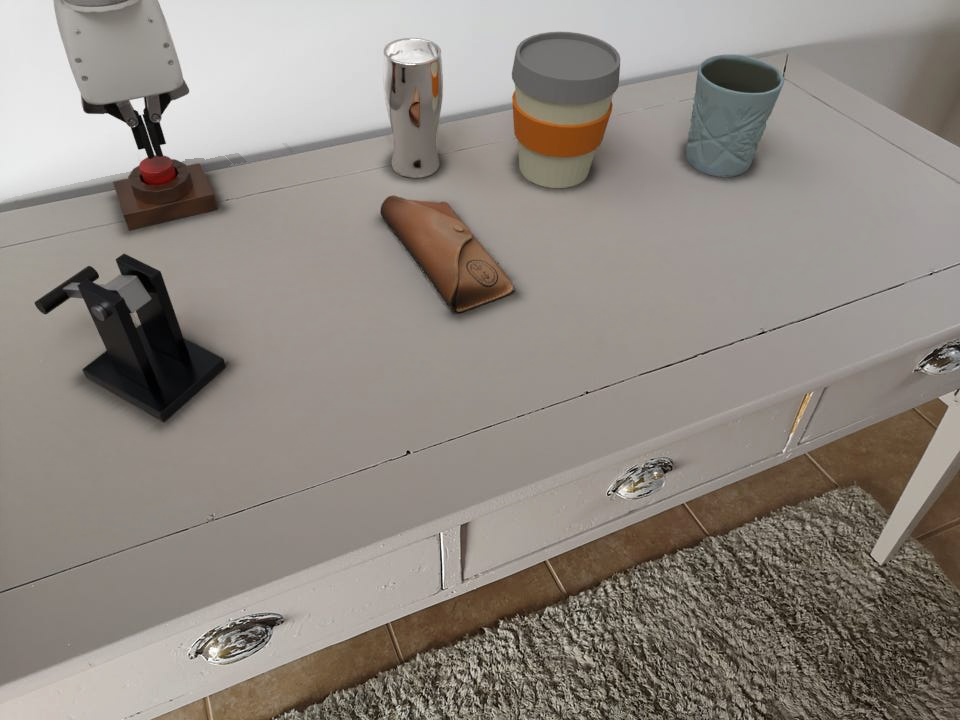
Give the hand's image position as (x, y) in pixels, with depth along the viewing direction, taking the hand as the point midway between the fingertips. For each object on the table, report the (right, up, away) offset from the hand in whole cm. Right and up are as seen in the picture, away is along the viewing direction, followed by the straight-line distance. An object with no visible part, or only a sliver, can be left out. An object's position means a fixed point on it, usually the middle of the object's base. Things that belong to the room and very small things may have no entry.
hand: (153, 151), depth 86 cm
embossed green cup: (+67, +3, +16) cm, 69 cm away
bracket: (+6, -24, -13) cm, 28 cm away
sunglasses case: (+33, -12, +1) cm, 35 cm away
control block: (0, -5, +5) cm, 7 cm away
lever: (+3, -18, -17) cm, 25 cm away
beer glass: (+28, +1, +13) cm, 31 cm away
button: (0, -2, +2) cm, 3 cm away
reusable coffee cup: (+46, +1, +13) cm, 48 cm away
